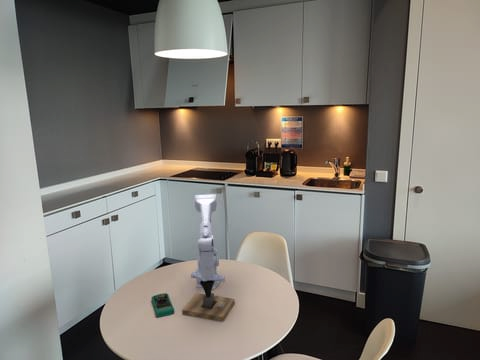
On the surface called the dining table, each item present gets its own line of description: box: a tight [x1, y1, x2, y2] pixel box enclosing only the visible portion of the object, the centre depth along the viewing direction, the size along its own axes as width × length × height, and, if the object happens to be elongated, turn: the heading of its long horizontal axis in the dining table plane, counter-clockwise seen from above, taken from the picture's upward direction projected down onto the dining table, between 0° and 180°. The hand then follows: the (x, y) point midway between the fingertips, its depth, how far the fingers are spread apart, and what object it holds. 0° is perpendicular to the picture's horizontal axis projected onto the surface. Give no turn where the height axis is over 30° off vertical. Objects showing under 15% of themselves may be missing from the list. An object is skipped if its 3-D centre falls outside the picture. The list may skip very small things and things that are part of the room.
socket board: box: [181, 292, 235, 322], centre depth 152 cm, size 18×14×3 cm
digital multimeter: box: [151, 292, 175, 318], centre depth 154 cm, size 7×15×3 cm, turn 22°
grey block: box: [203, 292, 215, 309], centre depth 151 cm, size 3×4×6 cm
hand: (208, 295), depth 151 cm, fingers closed
